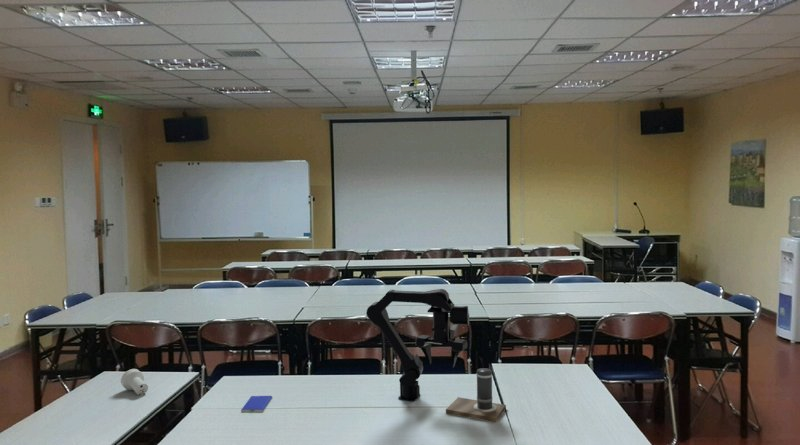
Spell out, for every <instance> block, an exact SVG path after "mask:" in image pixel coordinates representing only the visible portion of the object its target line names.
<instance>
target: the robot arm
mask: <svg viewBox="0 0 800 445" xmlns="http://www.w3.org/2000/svg"><path fill="white" fill-rule="evenodd" d="M393 302H395V303H412V304H413V303H415V304H416V303H417V304H425V305H427V306H430V307H429V308H428V310H427V313H432V319H433V320H432V327H431V331H432V334H433V335H432V336H433V338H432V337H431V335H427V334H420V335H419V336H418V337H416V338H415V343H414V344H415V346H417V347H418V349H421V351H422V354H424V357H425V358H426V360H427V362H428V365H431V364H432V350H431V349H432V345H437V346H445V347H451V349H452V350H451V353H450V354H451V356H450V357H451V367H452V368H454V367H455V366H456V362H457V359H458V356H459V354H460V353H461V352H463V351H465V350H466V349H467V348H468V345H469V344H468V341H467V340H466V339H463V338H456V339H455V333H456V330H455V329H451V326H450V323H451V324H452V325H455V326H457V325H458V326H459V325H460V326H461V325H462V326H470V325H469V324H470V312H469V306H468V305H463V306H461V305H460V306H457V305H455V303H454V302H453V301H452V299H451V298H450V295H449V292H448V291H447V290H446V289H444V288H438V289H437V288H436V289H431V290H425V291H417V290H415V291H414V290H398V289H397V290H395V289H389V290H388V291H387V292H386V293H385V294H384V296H383V297H382V298H380V300H379V301H375V302H373V303H372V304H370V305H369V306H368V307H367V309H366V316H367V318H368V319H369V320H370V321H371V322H372V324H373V325H375V326H376V327H377V328H379V329H380V331H381V332H382V334H383V336H384V337H385V338H386V340H387V342H388V344H389V345H390V347H392V350H393V351H394V352H395V355H396V356H397V358H398V359H399V361H400V365H401V368H402V371H403V373H402V375H401V376H400V378H399V392H400V393H399V395H400V396H398V398H397V399H398V400H403V401H409V402H415V401H416V400H417V399H419V398H420V396H421V391H420V390H421V389H420V388H421V386H420V384H419V380H418V379H419V378H420V377H421V375H422V373H423V370H424V365H423V361H422V360H421V359H420V357H419V355H418V354H417V353H416V354H415V355H413V354H412V353H411V352H410V351H409V349H408V348H407V346H406V345H405V342H404V341H403V339H402V338H401V337H400V335H399V333H398V332H397V330H396V329H395V327H394V325H393V324H392V323H391V321H390V317H389V313H388V311H387V307H388V306H389V305H390V304H391V303H393ZM449 322H450V323H449ZM453 339H455V340H453Z"/></svg>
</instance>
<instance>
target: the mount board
mask: <svg viewBox="0 0 800 445" xmlns="http://www.w3.org/2000/svg"><path fill="white" fill-rule="evenodd" d="M506 410H507V405H506V404H501V403H495V402H492V408H491V409H489V410H482V409H479V408H478V407H477V399H472V398H471V399H470V398H465V397H459V396H458V397H457V398H456V399H454V401H453V402H451V403H450V405H449V406H447V407H446V408H445V414H447V415H453V416H459V417H464V418H469V417H470V419H476V420H482V421H487V422H491V423H497V421H498V420H499V419H500V417H501V416H502V415H503V414H504V412H505V411H506Z"/></svg>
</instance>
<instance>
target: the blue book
mask: <svg viewBox="0 0 800 445" xmlns="http://www.w3.org/2000/svg"><path fill="white" fill-rule="evenodd" d="M272 400H273V396H272V395H251V396H250V397H249V399H248V400H247V401H246V403H245V404H244V405H243V406H242V408H241V409H240V412H241V413H248V412H249V413H253V412H254V413H255V412H256V413H258V412H259V413H260V412H261V413H262V412H265V410H266V409H267V407H268V406H269V405H270V403H271V401H272Z"/></svg>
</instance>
